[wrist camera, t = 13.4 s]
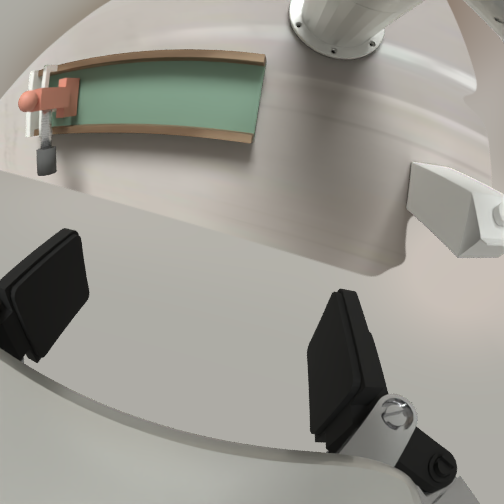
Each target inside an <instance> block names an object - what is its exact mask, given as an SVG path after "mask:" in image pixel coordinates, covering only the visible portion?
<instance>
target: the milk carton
mask: <svg viewBox="0 0 504 504" xmlns="http://www.w3.org/2000/svg"><path fill="white" fill-rule="evenodd" d="M406 209H407V210H408V211H409V212H410V213H412V214H413V215H414V216H415V217H416V218H417V219H418V220H419V221H420V222H422V223H423V224H424V225H425V226H426V227H427V228H428V229H429V230H430V231H431V232H433V234H434V235H435V236H437V238H438V239H440V240H441V241H442V242H443V243H444V244H445V245H446V246H447V247H448V248H449V249H450V250H451V251H452V252H453V253H454V255H456V257H457V258H492V257H493V258H496V257H500V256H501V255H503V254H504V194H502V193H501V192H499V191H497V190H495V189H493V188H491V187H489V186H488V185H486V184H484V183H482V182H480V181H478V180H476V179H474V178H471V177H469V176H467V175H465V174H463V173H461V172H459V171H456V170H454V169H452V168H450V167H445V166H439V165H433V164H426V163H419V162H412V164H411V174H410V184H409V192H408V200H407V207H406Z"/></svg>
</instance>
